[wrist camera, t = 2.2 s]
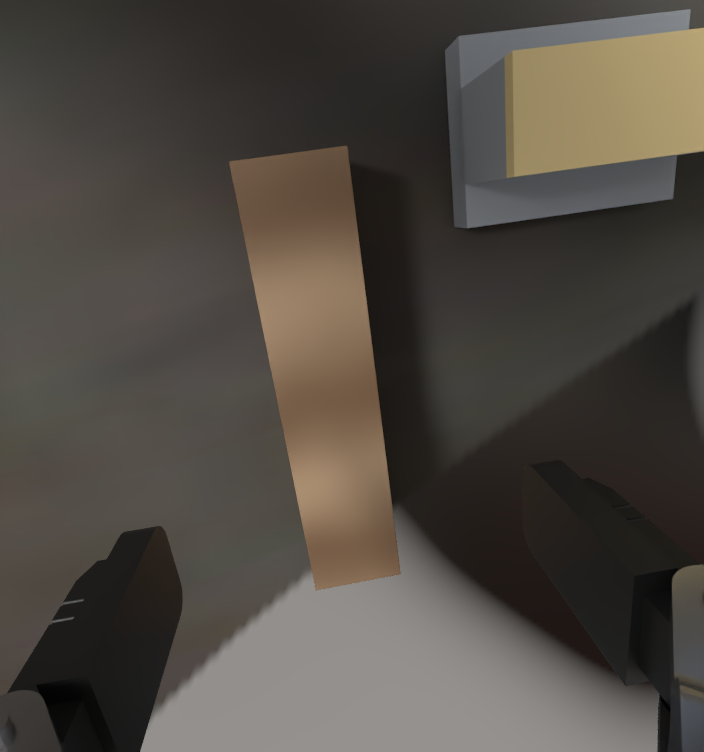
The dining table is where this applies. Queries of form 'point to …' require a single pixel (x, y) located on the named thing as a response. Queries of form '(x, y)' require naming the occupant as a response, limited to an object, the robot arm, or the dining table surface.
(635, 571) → the robot arm
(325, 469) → the walnut bar
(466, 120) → the ridge block
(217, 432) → the dining table surface
